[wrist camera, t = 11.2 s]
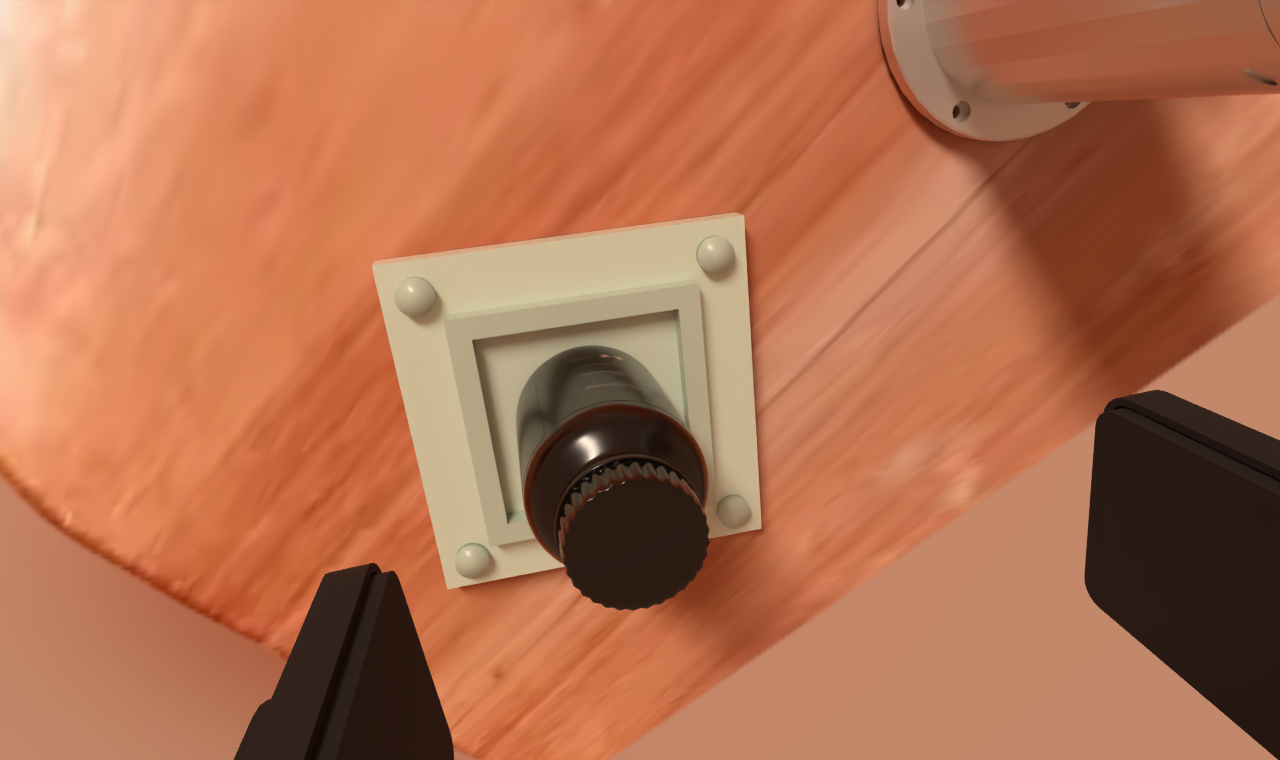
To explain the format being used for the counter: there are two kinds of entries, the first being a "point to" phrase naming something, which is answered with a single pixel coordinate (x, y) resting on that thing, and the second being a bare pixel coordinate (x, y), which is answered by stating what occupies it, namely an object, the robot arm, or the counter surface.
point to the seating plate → (549, 324)
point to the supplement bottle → (611, 478)
